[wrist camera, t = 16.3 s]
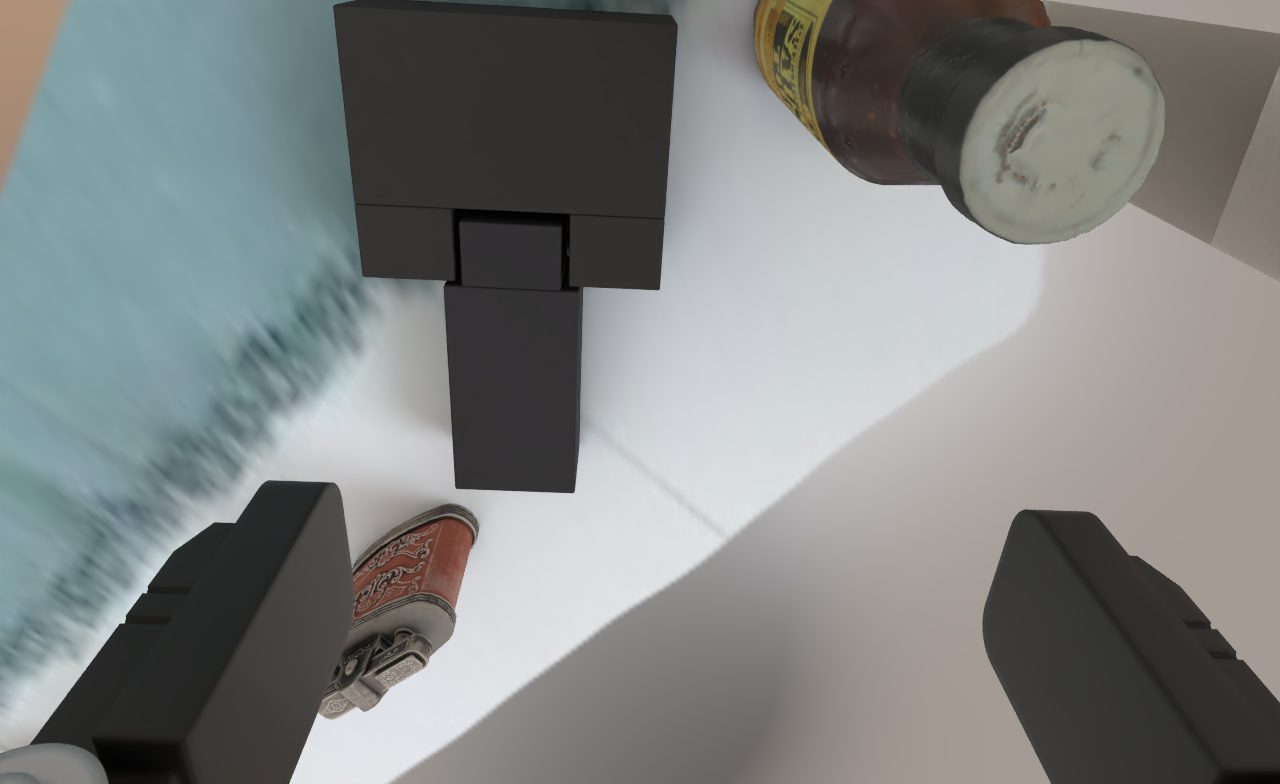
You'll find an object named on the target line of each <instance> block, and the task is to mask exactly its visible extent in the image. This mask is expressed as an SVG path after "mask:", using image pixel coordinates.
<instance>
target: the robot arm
mask: <svg viewBox="0 0 1280 784" xmlns="http://www.w3.org/2000/svg"><path fill="white" fill-rule="evenodd" d="M353 610H354V581H353V574H352V567H351V559H350V552H349V545H348V538H347V531H346V524H345V517H344V509H343V502H342V497H341V493H340V490H339V488H338V486H337V485H336V484H335V483H328V482H300V481H272V480H268V481H266V482H264V483H263V484H262V485H261V487H260V488H259V489H258V491H257V492H256V494H255V495H254V497H253V498H252V500H251V501H250V502H249V504H248V505H247V507H246V508H245V510H244V511H243V513H242V514H241V516H240V517H239V519H238V520H237V522H236V523H213V524H212V525H210V526H209V527H208V528H206V529H205V530H203V531H202V532H200V533H199V534H198V535H196V536H195V537H193V538H192V539H191V540H189V541H188V542H186V543H185V544H184V545H182V546H181V547H179V548H178V549H176V550H175V551H174V552H173V553H172V554H171V556H170V557H169V558H168V560H167V561H166V563H165V564H164V565H163V567H162V568H161V569H160V571H159V572H158V573H157V575H156V576H155V577H154V579H153V580H152V581H151V583H150V584H149V585H148V591H147V594H146V593H142V595H141V596H140V597H139V599H138V600H137V601H136V603H135V604H134V606H133V607H132V608H131V610H130V611H129V612H128V614H127V615H126V621H125V623H124V624H119V626H118V627H117V628H116V630H115V631H114V632H113V634H112V635H111V636H110V638H109V639H108V640H107V642H106V643H105V644H104V646H103V647H102V648H101V650H100V651H99V653H98V654H97V655H96V657H95V658H94V659H93V661H92V662H91V663H90V665H89V666H88V667H87V669H86V670H85V671H84V673H83V674H82V675H81V677H80V678H79V679H78V681H77V682H76V683H75V685H74V686H73V687H72V689H71V690H70V691H69V693H68V694H67V695H66V697H65V698H64V700H63V701H62V702H61V704H60V705H59V706H58V708H57V709H56V710H55V712H54V713H53V714H52V716H51V717H50V718H49V720H48V721H47V722H46V724H45V725H44V726H43V728H42V729H41V730H40V732H39V733H38V734H37V736H36V737H35V738H34V740H33V741H32V742H31V743H30V745H29V746H24V747H20V748H16V749H12V750H9V751H6V752H3V753H1V754H0V784H289V783H290V780H291V778H292V775H293V773H294V770H295V768H296V765H297V763H298V760H299V758H300V755H301V753H302V750H303V748H304V745H305V743H306V740H307V738H308V735H309V733H310V730H311V728H312V725H313V723H314V720H315V718H316V715H317V713H318V711H319V708H320V706H321V703H322V701H323V698H324V696H325V693H326V691H327V688H328V686H329V683H330V681H331V678H332V676H333V673H334V671H335V668H336V666H337V663H338V661H339V658H340V656H341V653H342V651H343V648H344V646H345V643H346V641H347V638H348V635H349V631H350V628H351V623H352V617H353ZM1210 624H1211V622H1210V621H1209V619H1208V618H1207V617H1206V616H1205V615H1204V614H1203V612H1202V611H1201V610H1200V609H1199V608H1198V607H1197V605H1195V603H1194V602H1193V601H1192V600H1191V599H1190V597H1189V596H1188V595H1187V594H1186V593H1185V591H1184V590H1183V589H1182V588H1181V587H1180V586H1179V585H1177V584H1176V583H1174V582H1173V581H1172V580H1170V579H1169V578H1167V577H1166V576H1165V575H1163V574H1162V573H1160V572H1159V571H1158V570H1156V569H1155V568H1153V567H1152V566H1151V565H1149V564H1148V563H1146V562H1145V561H1144V560H1142V559H1141V558H1139V557H1138V556H1129V555H1128V554H1127V552H1126V551H1125V550H1124V549H1123V547H1122V546H1121V545H1120V544H1119V542H1118V541H1117V540H1116V539H1115V538H1114V536H1113V535H1112V534H1111V533H1110V531H1109V530H1108V529H1107V528H1106V527H1105V525H1104V524H1103V523H1102V522H1101V520H1100V519H1099V518H1098V517H1097V516H1095V515H1094V514H1092V513H1090V512H1081V511H1080V512H1079V511H1053V510H1022V511H1021V512H1019V513H1018V514H1017V515H1016V516H1015V518H1014V520H1013V521H1012V525H1011V527H1010V530H1009V533H1008V536H1007V539H1006V542H1005V545H1004V548H1003V551H1002V555H1001V557H1000V561H999V564H998V567H997V570H996V573H995V576H994V579H993V582H992V585H991V588H990V591H989V595H988V598H987V601H986V604H985V608H984V613H983V638H984V644H985V648H986V652H987V655H988V658H989V660H990V663H991V665H992V666H993V669H994V671H995V673H996V675H997V677H998V679H999V681H1000V683H1001V684H1002V686H1003V688H1004V691H1005V693H1006V694H1007V696H1008V698H1009V701H1010V702H1011V704H1012V706H1013V708H1014V710H1015V712H1016V714H1017V716H1018V718H1019V720H1020V722H1021V724H1022V726H1023V728H1024V730H1025V732H1026V734H1027V736H1028V738H1029V740H1030V742H1031V744H1032V746H1033V748H1034V750H1035V752H1036V754H1037V756H1038V758H1039V760H1040V762H1041V764H1042V766H1043V768H1044V770H1045V772H1046V774H1047V776H1048V778H1049V780H1050V782H1051V784H1280V703H1279V701H1278V700H1277V699H1276V698H1275V697H1274V695H1272V693H1271V692H1270V691H1269V690H1268V688H1267V687H1266V686H1265V685H1264V684H1263V683H1262V681H1260V679H1259V678H1258V677H1257V676H1256V674H1255V673H1254V672H1253V671H1252V670H1251V669H1250V667H1249V666H1248V665H1247V664H1246V663H1245V662H1244V661H1243V660H1238V659H1237V658H1236V651H1235V650H1234V649H1233V648H1232V646H1231V645H1230V644H1229V643H1228V642H1227V641H1226V639H1225V638H1224V637H1223V636H1222V635H1221V634H1220V632H1219V631H1218V630H1217V629H1211V626H1210Z"/></svg>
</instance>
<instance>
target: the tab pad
mask: <svg viewBox="0 0 1280 784" xmlns="http://www.w3.org/2000/svg"><path fill="white" fill-rule="evenodd" d="M567 218H568V214H564V213H543V212H522V211H501V210H480V209H467V210H466V211H465V213H464V215H463V216H462V218H461V220H460V221H459V234H460V255H461V269H460V271H459V273H458V275H457V276H456V278H455V280H454V281H446V283H445V285H444V301H445V318H446V335H447V352H448V369H449V386H450V403H451V420H452V437H453V454H454V471H455V487H456V488H457V489H476V490H502V491H529V492H555V493H574V492H575V484H576V473H577V463H578V453H579V428H580V387H581V347H582V306H583V287H576V286H569V259H567Z"/></svg>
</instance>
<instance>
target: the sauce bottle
mask: <svg viewBox="0 0 1280 784" xmlns="http://www.w3.org/2000/svg"><path fill="white" fill-rule="evenodd" d="M753 36H754V45H755V54H756V58H757V62H758V65H759V68H760V70H761V72H762V75H763V77H764V79H765V80H766V82H767V84H768V86H769V87H770V88H771V89H772V91H773V92H774V93H775V94H776V96H777V97H778V98H779V99H780V100H781V101H782V102H783V103H784V104H785V105H786V106H787V107H788V108H789V109H790V110H791V111H792V113H793V114H794V115H795V116H796V117H797V118H798V119H799V121H800V122H801V123H802V124H803V125H804V126H805V127H806V128H807V129H808V130H809V131H810V132H811V134H812V135H813V136H814V137H815V138H816V139H817V140H818V141H819V142H820V143H821V144H822V145H823V146H824V147H825V148H826V149H827V150H828V151H829V153H830V154H831V155H832V156H833V157H834V158H835V159H836V160H837V161H838V162H839V163H840V164H841V165H842V166H843V167H844V168H846V169H847V170H848V171H849V172H851V173H852V174H854V175H856V176H857V177H859V178H861V179H863V180H866V181H868V182H871V183H875V184H881V185H941V186H942V188H943V190H944V192H945V194H946V196H947V198H948V199H949V201H950V202H951V204H952V205H953V206H954V207H955V208H956V209H957V210H958V211H959V212H960V213H961V214H963V215H964V216H965V217H966V218H968V219H969V220H970V221H972V222H974V223H976V224H977V225H979V226H980V227H981V228H983V229H984V230H986V231H987V232H989V233H991V234H993V235H995V236H996V237H999V238H1001V239H1004V240H1006V241H1009V242H1011V243H1014V244H1049V243H1055V242H1060V241H1066V240H1069V239H1071V238H1074V237H1076V236H1078V235H1080V234H1083V233H1086V232H1089V231H1091V230H1093V229H1094V228H1096V227H1097V226H1099V225H1100V224H1102V223H1103V222H1105V221H1106V220H1108V219H1109V218H1110V217H1112V216H1113V215H1114V214H1115V213H1117V212H1118V211H1119V210H1120V209H1121V208H1123V206H1125V204H1126V203H1127V202H1128V201H1129V200H1130V199H1131V198H1132V196H1133V195H1134V194H1135V192H1136V191H1137V190H1138V189H1139V188H1140V187H1141V186H1142V184H1143V182H1144V181H1145V179H1146V177H1147V175H1148V172H1149V170H1150V168H1151V167H1152V166H1153V164H1154V163H1155V161H1156V160H1157V157H1158V152H1159V148H1160V145H1161V143H1162V140H1163V135H1164V127H1165V111H1166V106H1165V101H1164V96H1163V93H1162V90H1161V87H1160V84H1159V83H1158V81H1157V79H1156V78H1155V76H1154V74H1153V72H1152V70H1151V69H1150V67H1149V65H1148V63H1147V61H1146V60H1145V58H1143V57H1142V56H1141V55H1140V54H1138V53H1137V52H1136V51H1135V50H1133V49H1132V48H1130V47H1128V46H1126V45H1124V44H1122V43H1120V42H1118V41H1115V40H1112V39H1110V38H1107V37H1105V36H1102V35H1100V34H1097V33H1094V32H1088V31H1084V30H1080V29H1077V28H1073V27H1060V26H1052V27H1051V22H1050V20H1049V18H1048V16H1047V13H1046V10H1045V6H1044V4H1043V2H1042V1H1040V0H759V3H758V5H757V7H756V8H755V12H754V34H753Z"/></svg>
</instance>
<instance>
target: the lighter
mask: <svg viewBox="0 0 1280 784" xmlns="http://www.w3.org/2000/svg"><path fill="white" fill-rule="evenodd" d="M478 531H479V525H478V521H477V519H476V518H475V516H474V515H473V514H472V513H471V512H470V511H469V510H467V509H466V508H464V507H461V506H459V505H452V504H448V505H443V506H440V507H438V508H435V509H433V510H430V511H428V512H425V513H423V514H420V515H418V516H416V517H414V518H412V519H410V520H409V521H407V522H405V523H403V524H401V525H399V526H398V527H396V528H394V529H392V530H391V531H390V532H388V533H387V534H386V535H384V536H383V537H382V538H381V539H379V540H378V541H377V542H375V543H374V544H373V545H372V546H371V547H370V548H369V549H368V550H367V551H366V552H365V553H364V554H363V555H362V556H361V557H360V558H359V559H358V560H357V561H356V562H355V564H354V566H353V568H352V574H353V581H354V610H353V617H352V623H351V628H350V631H349V635H348V638H347V641H346V643H345V646H344V648H343V651H342V653H341V656H340V658H339V661H338V663H337V666H336V668H335V671H334V673H333V676H332V678H331V681H330V683H329V686H328V688H327V691H326V693H325V696H324V698H323V701H322V703H321V706H320V708H319V711H318V713H319V714H320V715H322V716H323V717H325V718H327V719H336V718H338V717H340V716H342V715H344V714H345V713H347V712H349V711H351V710H352V709H354V708H356V707H359V708H360V709H361V710H362V711H368V710H370V709H371V708H373V707H374V706H375V705H377V704H378V703H379V701H380V700H381V698H382V697H383V695H384V694H385V693H386V692H387V691H388V689H389V688H391V687H392V686H394V685H396V684H398V683H399V682H401V681H403V680H405V679H406V678H408V677H410V676H411V675H413V674H415V673H417V672H418V671H420V670H422V669H424V668H425V667H426V666H427V664H428V661H429V658H430V656H431V655H432V654H433V653H434V652H435V651H437V650H438V649H439V648H440V647H441V646H442V645H443V644H445V643H446V642H447V641H448V640H449V639H450V637H451V636H452V634H453V631H454V627H455V623H456V613H455V606H456V602H457V599H458V595H459V591H460V587H461V583H462V579H463V575H464V571H465V568H466V564H467V560H468V556H469V552H470V549H472V548H473V546H474V545H475V543H476V540H477V536H478Z"/></svg>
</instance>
